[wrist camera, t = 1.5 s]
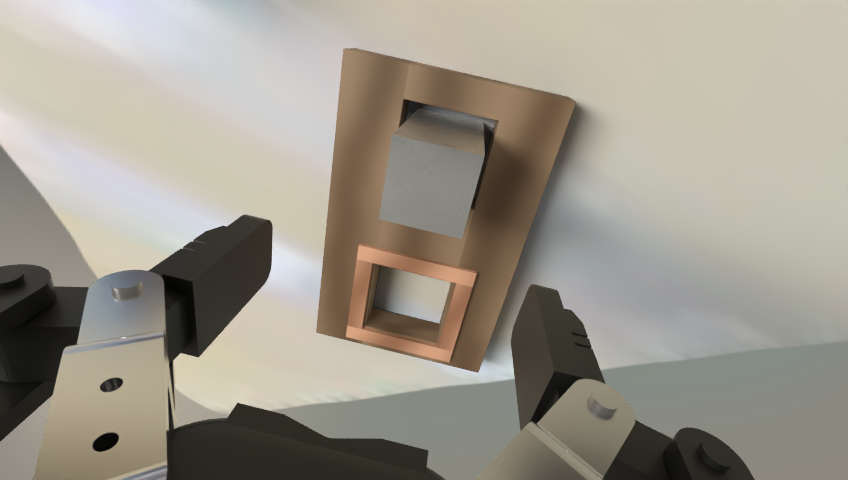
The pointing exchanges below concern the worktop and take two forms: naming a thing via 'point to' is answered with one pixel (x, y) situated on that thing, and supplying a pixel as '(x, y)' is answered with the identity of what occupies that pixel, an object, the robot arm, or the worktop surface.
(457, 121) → the steel peg
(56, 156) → the worktop surface
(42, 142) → the worktop surface
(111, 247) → the worktop surface
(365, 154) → the socket board
